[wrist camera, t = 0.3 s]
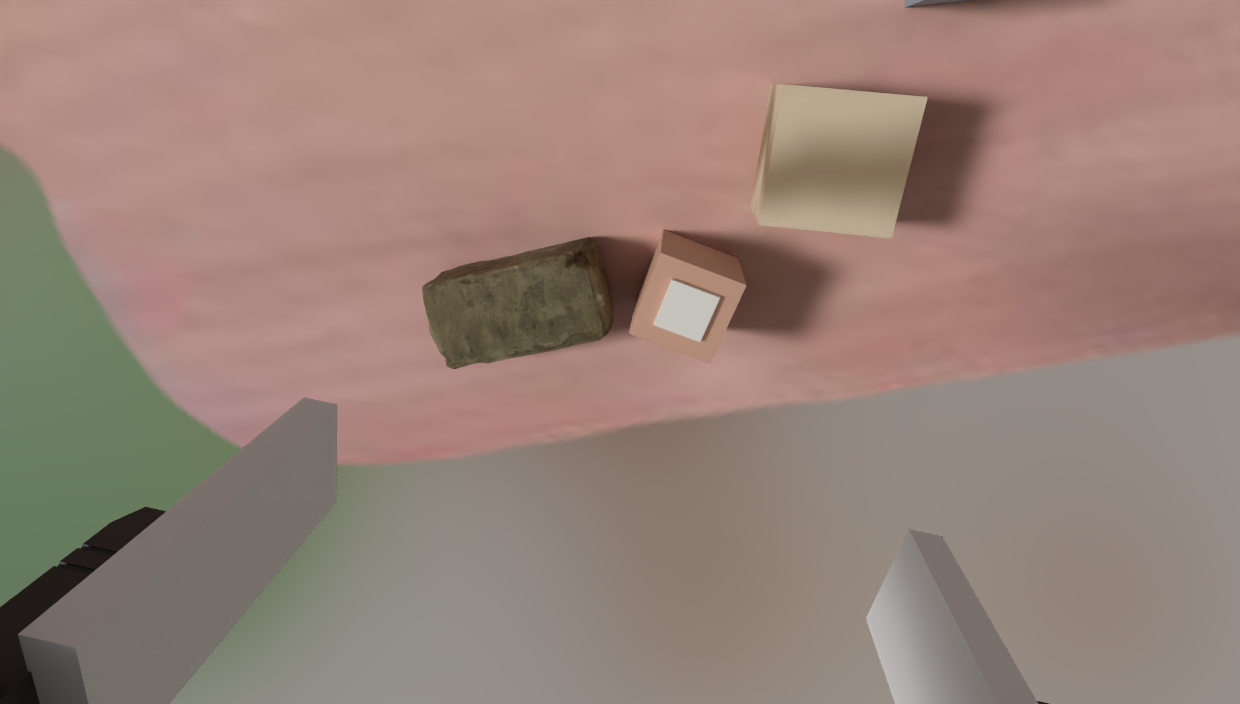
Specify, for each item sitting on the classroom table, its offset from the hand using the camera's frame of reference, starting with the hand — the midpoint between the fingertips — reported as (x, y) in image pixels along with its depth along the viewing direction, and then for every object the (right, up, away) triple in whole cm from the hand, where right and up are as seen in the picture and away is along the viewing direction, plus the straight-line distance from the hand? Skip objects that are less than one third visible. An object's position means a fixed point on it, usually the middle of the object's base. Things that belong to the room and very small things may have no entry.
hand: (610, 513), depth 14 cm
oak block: (+12, +15, +22) cm, 30 cm away
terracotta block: (+4, +8, +26) cm, 28 cm away
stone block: (-6, +8, +28) cm, 29 cm away
